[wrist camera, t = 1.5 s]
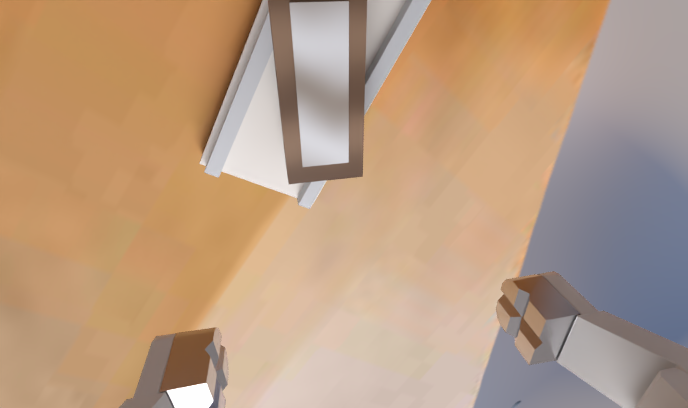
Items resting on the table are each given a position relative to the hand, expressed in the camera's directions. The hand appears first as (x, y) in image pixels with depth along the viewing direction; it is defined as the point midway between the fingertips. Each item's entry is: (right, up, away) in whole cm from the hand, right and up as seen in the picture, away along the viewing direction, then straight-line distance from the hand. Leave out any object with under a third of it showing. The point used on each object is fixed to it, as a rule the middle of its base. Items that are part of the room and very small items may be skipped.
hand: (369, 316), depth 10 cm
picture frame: (-3, +13, +17) cm, 22 cm away
